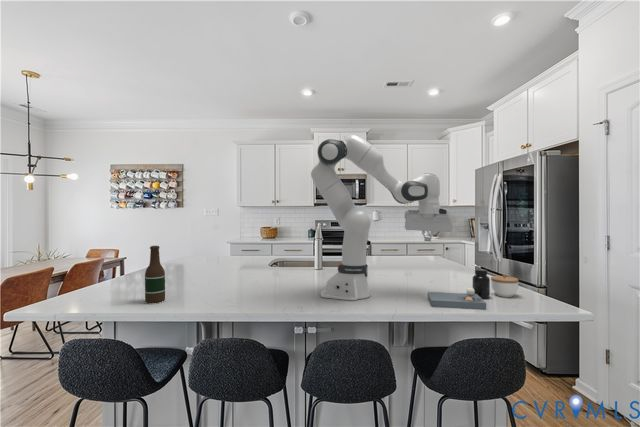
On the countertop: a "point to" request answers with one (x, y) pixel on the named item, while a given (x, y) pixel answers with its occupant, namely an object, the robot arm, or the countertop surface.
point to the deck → (455, 300)
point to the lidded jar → (504, 285)
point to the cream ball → (470, 291)
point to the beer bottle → (154, 278)
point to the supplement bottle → (481, 283)
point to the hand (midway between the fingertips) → (427, 241)
